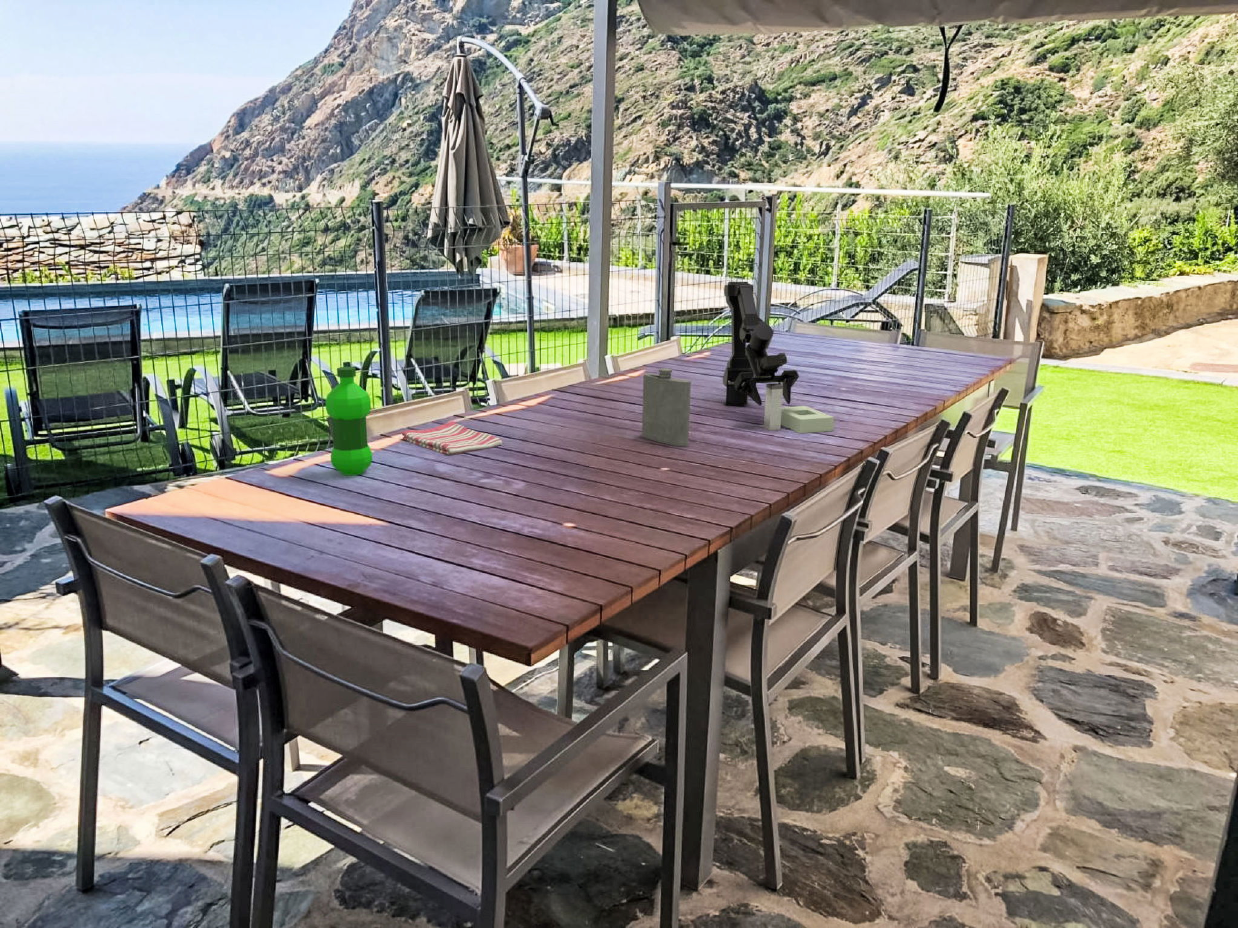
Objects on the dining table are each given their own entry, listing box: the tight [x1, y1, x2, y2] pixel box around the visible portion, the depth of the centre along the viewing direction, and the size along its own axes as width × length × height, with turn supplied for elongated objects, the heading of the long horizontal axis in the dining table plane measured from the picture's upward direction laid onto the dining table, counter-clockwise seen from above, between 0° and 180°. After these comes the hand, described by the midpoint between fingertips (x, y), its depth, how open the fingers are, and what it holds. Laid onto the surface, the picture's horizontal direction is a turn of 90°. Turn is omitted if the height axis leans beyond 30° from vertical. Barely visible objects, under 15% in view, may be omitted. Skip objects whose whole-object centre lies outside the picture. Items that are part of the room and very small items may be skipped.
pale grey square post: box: [763, 383, 783, 431], centre depth 275 cm, size 4×4×13 cm
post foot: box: [781, 405, 835, 434], centre depth 281 cm, size 16×11×4 cm
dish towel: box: [401, 420, 503, 456], centre depth 255 cm, size 17×23×4 cm
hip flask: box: [641, 367, 692, 447], centre depth 259 cm, size 16×4×20 cm, turn 46°
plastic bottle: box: [325, 366, 373, 476], centre depth 224 cm, size 10×10×25 cm
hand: (775, 404), depth 274 cm, fingers open, 9 cm apart
